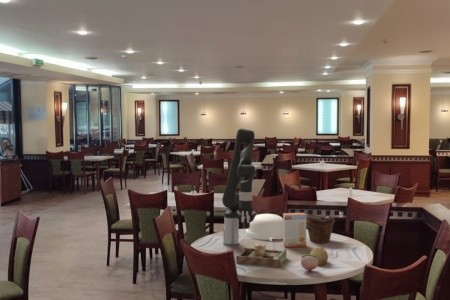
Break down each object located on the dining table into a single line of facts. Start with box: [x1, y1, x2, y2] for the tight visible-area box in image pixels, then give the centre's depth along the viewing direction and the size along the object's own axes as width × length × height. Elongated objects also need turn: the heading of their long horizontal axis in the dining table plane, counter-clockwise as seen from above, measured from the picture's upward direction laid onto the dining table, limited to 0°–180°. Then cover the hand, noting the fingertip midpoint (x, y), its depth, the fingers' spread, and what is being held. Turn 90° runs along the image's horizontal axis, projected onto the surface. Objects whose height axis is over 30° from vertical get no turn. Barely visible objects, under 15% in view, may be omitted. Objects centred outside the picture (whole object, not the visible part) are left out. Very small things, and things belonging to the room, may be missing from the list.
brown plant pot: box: [306, 213, 336, 244], centre depth 328 cm, size 18×20×18 cm
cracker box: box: [282, 212, 307, 248], centre depth 315 cm, size 14×6×21 cm, turn 95°
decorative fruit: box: [300, 252, 319, 272], centre depth 265 cm, size 9×8×10 cm
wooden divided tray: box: [235, 247, 287, 268], centre depth 284 cm, size 25×18×6 cm
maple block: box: [254, 243, 266, 255], centre depth 288 cm, size 5×5×5 cm
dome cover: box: [245, 213, 283, 241], centre depth 345 cm, size 32×30×14 cm
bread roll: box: [309, 247, 329, 266], centre depth 282 cm, size 10×15×8 cm, turn 4°
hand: (245, 228), depth 290 cm, fingers closed
